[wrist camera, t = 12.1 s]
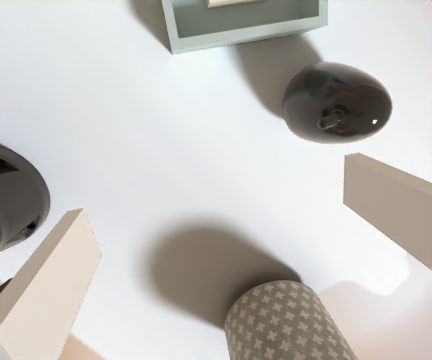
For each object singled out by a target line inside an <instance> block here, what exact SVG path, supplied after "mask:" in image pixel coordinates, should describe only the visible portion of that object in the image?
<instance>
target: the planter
mask: <svg viewBox="0 0 432 360" xmlns="http://www.w3.org/2000/svg"><path fill="white" fill-rule="evenodd" d="M225 334H226V339H227V345H228V350H229V355H230V360H358V359H357V357H356V356H355V354H354V352H353V351H352V349H351V348H350V346H349V345H348V343H347V342H346V340H345V338H344V337H343V335H342V334H341V332H340V331H339V329H338V327H337V326H336V324H335V323H334V321H333V320H332V318H331V317H330V315H329V314H328V312H327V310H326V309H325V307H324V306H323V304H322V303H321V301H320V299H319V298H318V296H317V295H316V293H315V292H314V291H313V290H312V289H311V288H309V287H308V286H306V285H304V284H302V283H299V282H296V281H290V280H277V281H271V282H267V283H264V284H261V285H258V286H256V287H254V288H252V289H250V290H248V291H247V292H245V293H244V294H243V295H242V296H240V297H239V298H238V299H237V300H236V301H235V302H234V303H233V305H232V306H231V308H230V309H229V311H228V313H227V316H226V319H225Z"/></svg>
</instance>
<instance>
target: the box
mask: <svg viewBox="0 0 432 360" xmlns="http://www.w3.org/2000/svg"><path fill="white" fill-rule="evenodd" d="M161 1H162V6H163V11H164V16H165V21H166V26H167V31H168V36H169V41H170V46H171V51H172V55H173V54H179V53H185V52H191V51H197V50H203V49H209V48H215V47H221V46H228V45H234V44H240V43H246V42H252V41H258V40H264V39H270V38H276V37H282V36H288V35H294V34H301V33H305V32H308V31H311V30H314V29H317V28H320V27H323V26H326V25H328V0H161Z"/></svg>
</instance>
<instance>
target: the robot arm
mask: <svg viewBox="0 0 432 360" xmlns="http://www.w3.org/2000/svg"><path fill="white" fill-rule="evenodd" d="M343 203H344V204H345V205H346V206H348V207H349V208H350V209H352V210H353V211H354V212H356V213H357V214H358V215H359V216H361V217H362V218H363V219H365V220H366V221H367V222H369V223H370V224H371V225H373V226H374V227H375V228H377V229H378V230H379V231H381V232H382V233H383V234H385V235H386V236H387V237H388V238H390V239H391V240H392V241H394V242H395V243H396V244H398V245H399V246H400V247H402V248H403V249H404V250H406V251H407V252H408V253H410V254H411V255H412V256H414V257H415V258H416V259H417V260H419V261H420V262H422V263H423V264H424V265H425V266H427V267H428V268H429V269H431V270H432V183H430V182H428V181H425V180H423V179H421V178H418V177H416V176H413V175H411V174H409V173H406V172H404V171H401V170H399V169H397V168H394V167H392V166H389V165H387V164H385V163H382V162H380V161H377V160H375V159H373V158H370V157H368V156H365V155H363V154H361V153H355V154H350V155H345V162H344V195H343ZM49 209H50V195H49V191H48V188H47V185H46V183H45V181H44V179H43V178H42V176H41V175H40V173H39V172H38V171H37V170H36V169H35V167H34V166H33V165H31V164H30V163H29V162H28V161H27V160H25V159H24V158H23V157H21V156H20V155H18V154H16V153H14V152H12V151H10V150H8V149H5V148H3V147H0V252H1V251H3V250H5V249H8V248H10V247H12V246H14V245H16V244H19V243H21V242H23V241H24V240H26V239H27V238H29V237H30V236H31V235H32V234H34V233H35V232H36V230H37V229H38V228H39V227H40V226H41V225H42V224H43V222H44V221H45V219H46V218H47V215H48V213H49ZM101 256H102V253H101V251H100V248H99V246H98V243H97V241H96V238H95V236H94V233H93V231H92V228H91V226H90V223H89V221H88V218H87V216H86V213H85V211H84V208H82V209H77V210H72V211H67V212H66V213H65V215H64V216H63V217H62V218H61V220H60V221H59V222H58V223H57V225H56V226H55V227H54V228H53V229H52V231H51V232H50V233H49V234H48V236H47V237H46V238H45V239H44V240H43V242H42V243H41V244H40V245H39V247H38V248H37V249H36V250H35V252H34V253H33V254H32V255H31V256H30V258H29V259H28V260H27V261H26V263H25V264H24V265H23V266H22V268H21V269H20V270H19V271H18V272H17V274H16V275H15V276H14V277H13V278H11V279H9V280H8V281H6V282H5V283H4V284H2V285H1V286H0V360H58V359H59V357H60V354H61V352H62V349H63V347H64V345H65V342H66V340H67V338H68V335H69V333H70V330H71V328H72V326H73V323H74V321H75V318H76V316H77V314H78V311H79V309H80V307H81V304H82V302H83V299H84V297H85V295H86V292H87V290H88V287H89V285H90V283H91V280H92V278H93V275H94V273H95V271H96V268H97V266H98V264H99V261H100V259H101Z"/></svg>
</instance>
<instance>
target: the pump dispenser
mask: <svg viewBox="0 0 432 360" xmlns="http://www.w3.org/2000/svg"><path fill="white" fill-rule="evenodd" d="M391 114H392V100H391V97H390V95H389V93H388V91H387V89H386V88H385V87H384V86H383V85H382V84H381V83H380V82H379V81H378V80H377V79H376V78H374V77H373V76H371V75H370V74H368V73H366V72H364V71H362V70H360V69H358V68H355V67H352V66H349V65H346V64H341V63H336V62H319V63H315V64H312V65H309V66H307V67H306V68H304V69H303V70H301V71H300V72H299V73H298V74H297V75H296V76H295V77H294V78H293V79H292V81H291V82H290V84H289V85H288V87H287V89H286V92H285V95H284V98H283V115H284V119H285V122H286V124H287V126H288V128H289V129H290V130H291V131H292V132H293V133H294V134H295V135H296V136H298V137H300V138H302V139H304V140H307V141H310V142H315V143H322V144H343V143H352V142H357V141H360V140H364V139H366V138H369V137H371V136H373V135H374V134H376V133H377V132H379V131H380V130H381V129H382V128H383V127H384V126H385V125H386V124H387V122H388V121H389V119H390V117H391Z"/></svg>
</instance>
